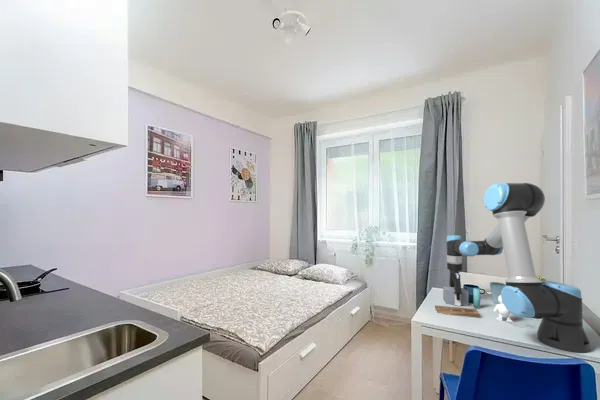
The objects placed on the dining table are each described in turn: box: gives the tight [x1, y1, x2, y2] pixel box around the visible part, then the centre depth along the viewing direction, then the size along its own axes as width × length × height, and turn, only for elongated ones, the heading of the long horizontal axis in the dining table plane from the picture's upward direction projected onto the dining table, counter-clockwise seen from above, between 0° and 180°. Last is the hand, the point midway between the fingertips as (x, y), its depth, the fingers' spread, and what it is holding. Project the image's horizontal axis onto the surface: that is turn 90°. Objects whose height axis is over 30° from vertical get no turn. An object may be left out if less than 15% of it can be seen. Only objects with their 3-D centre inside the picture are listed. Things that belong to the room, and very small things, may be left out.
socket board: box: [434, 305, 481, 319], centre depth 142 cm, size 8×19×2 cm, turn 72°
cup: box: [489, 281, 506, 305], centre depth 157 cm, size 8×8×10 cm
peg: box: [472, 287, 481, 310], centre depth 149 cm, size 3×3×10 cm
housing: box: [442, 286, 469, 307], centre depth 157 cm, size 8×11×8 cm
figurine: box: [493, 295, 513, 323], centre depth 132 cm, size 8×5×12 cm, turn 60°
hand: (455, 302), depth 157 cm, fingers open, 11 cm apart
